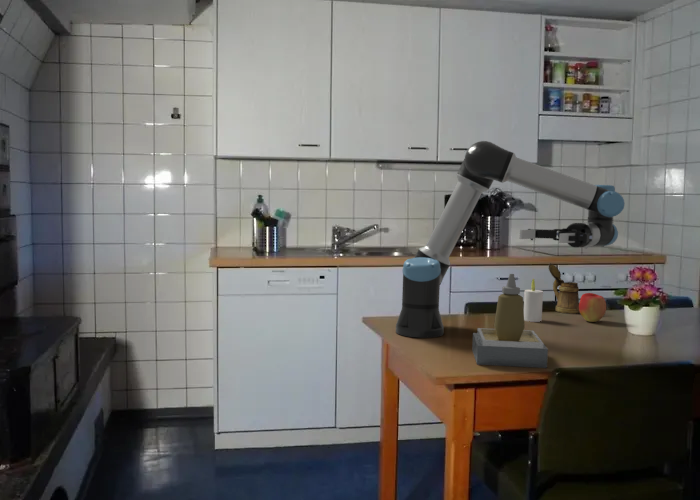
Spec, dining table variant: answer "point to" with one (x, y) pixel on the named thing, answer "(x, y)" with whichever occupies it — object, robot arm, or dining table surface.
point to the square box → (509, 350)
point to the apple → (592, 307)
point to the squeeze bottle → (510, 312)
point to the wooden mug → (565, 293)
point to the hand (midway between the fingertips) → (539, 236)
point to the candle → (533, 304)
